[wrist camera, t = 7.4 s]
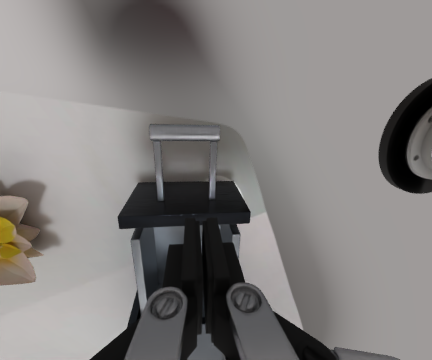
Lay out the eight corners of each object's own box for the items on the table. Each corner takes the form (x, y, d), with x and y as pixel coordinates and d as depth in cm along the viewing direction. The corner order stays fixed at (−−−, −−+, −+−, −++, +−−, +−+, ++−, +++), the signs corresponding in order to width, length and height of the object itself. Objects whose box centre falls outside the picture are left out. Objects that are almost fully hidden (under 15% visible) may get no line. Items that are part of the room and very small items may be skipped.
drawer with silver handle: (131, 118, 22) (103, 127, 15) (237, 121, 23) (259, 130, 16) (149, 282, 30) (136, 340, 23) (227, 276, 31) (238, 329, 24)
